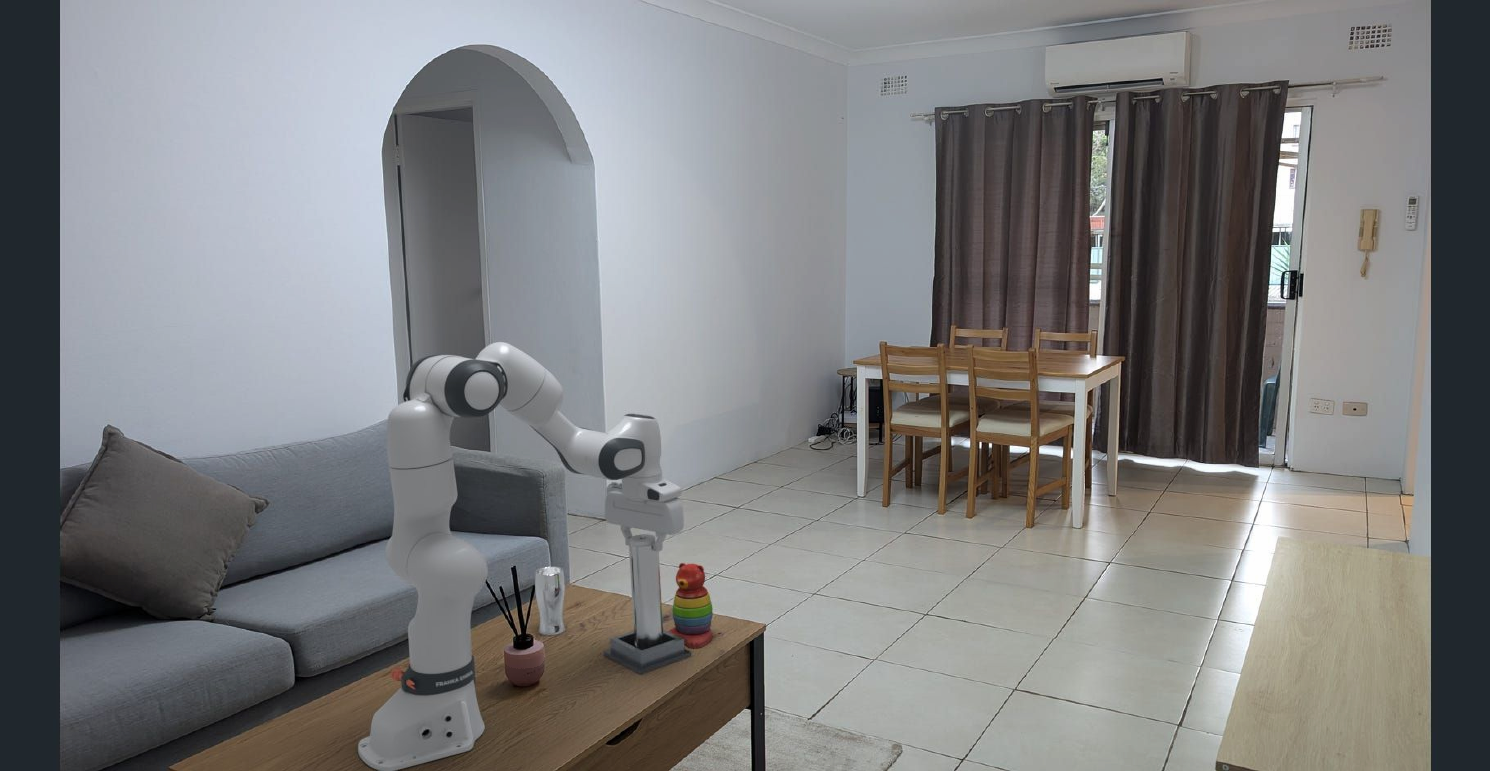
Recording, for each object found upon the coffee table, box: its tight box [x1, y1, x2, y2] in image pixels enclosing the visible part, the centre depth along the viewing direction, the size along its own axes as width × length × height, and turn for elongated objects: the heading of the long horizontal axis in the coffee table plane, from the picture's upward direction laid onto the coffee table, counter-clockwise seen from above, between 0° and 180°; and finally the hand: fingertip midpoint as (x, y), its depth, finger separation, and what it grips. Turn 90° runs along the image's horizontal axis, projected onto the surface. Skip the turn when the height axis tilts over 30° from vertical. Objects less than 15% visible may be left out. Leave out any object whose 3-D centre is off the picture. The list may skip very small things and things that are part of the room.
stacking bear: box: [668, 562, 713, 649], centre depth 226 cm, size 11×10×18 cm
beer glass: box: [534, 566, 566, 637], centre depth 232 cm, size 7×7×15 cm
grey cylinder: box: [628, 533, 664, 650], centre depth 216 cm, size 6×6×25 cm
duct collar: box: [603, 629, 692, 675], centre depth 217 cm, size 14×14×4 cm
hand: (643, 547), depth 214 cm, fingers closed on grey cylinder, 6 cm apart
